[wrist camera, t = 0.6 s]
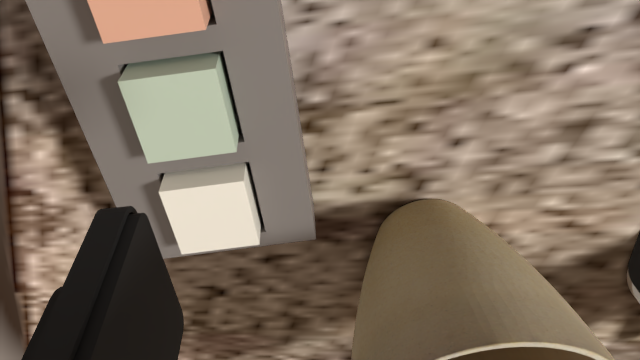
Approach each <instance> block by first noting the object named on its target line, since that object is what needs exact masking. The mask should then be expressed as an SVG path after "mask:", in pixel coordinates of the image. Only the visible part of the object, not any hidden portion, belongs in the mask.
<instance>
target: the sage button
mask: <svg viewBox="0 0 640 360" xmlns="http://www.w3.org/2000/svg"><path fill="white" fill-rule="evenodd" d="M118 84H119V87H120V90H121V93H122V95H123V98H124V101H125V103H126V106H127V109H128V111H129V114H130V117H131V119H132V122H133V125H134V127H135V130H136V133H137V136H138V138H139V141H140V144H141V146H142V149H143V152H144V154H145V157H146V160H147V162H148V164H149V163H157V162H165V161H172V160H180V159H188V158H195V157H203V156H211V155H218V154H226V153H234V152H237V145H238V138H239V130H240V129H239V125H238V121H237V117H236V112H235V108H234V104H233V100H232V96H231V92H230V87H229V83H228V79H227V75H226V71H225V66H224V62H223V58H222V54H221V51H217V52H210V53H203V54H195V55H188V56H180V57H173V58H166V59H158V60H151V61H144V62H136V63H129V64H128V65H127V67H126V68H125V70H124V72H123V73H122V75H121V77H120V78H119V80H118Z"/></svg>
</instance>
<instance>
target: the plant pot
mask: <svg viewBox="0 0 640 360" xmlns="http://www.w3.org/2000/svg"><path fill="white" fill-rule="evenodd" d="M351 360H615V359H614V358H613V357H612V355H611V354H610V353H609V352H608V350H607V349H606V348H605V347H604V345H603V344H602V343H601V342H600V341H599V339H598V338H597V337H596V336H595V335H594V333H593V332H592V331H591V330H590V329H589V327H588V326H587V325H586V324H585V323H584V321H583V320H582V319H581V318H580V317H579V315H578V314H577V313H576V312H575V311H574V310H573V309H572V307H571V306H570V305H569V304H568V303H567V302H566V301H565V300H564V298H563V297H562V296H561V295H560V294H559V293H558V292H557V291H556V290H555V289H554V287H553V286H552V285H551V284H550V283H549V282H548V281H547V280H546V279H545V278H544V277H543V276H542V275H541V274H540V273H539V272H538V271H537V270H536V269H535V268H534V267H533V266H532V265H531V264H530V263H529V262H528V261H526V260H525V259H524V258H523V257H522V256H521V255H520V254H519V253H518V252H517V251H516V250H515V249H514V248H512V247H511V246H510V245H509V244H508V243H507V242H505V241H504V240H503V239H502V238H501V237H500V236H498V235H497V234H496V233H495V232H493V231H492V230H491V229H490V228H488V227H487V226H486V225H484V224H483V223H482V222H480V221H479V220H478V219H476V218H475V217H474V216H472V215H471V214H469V213H468V212H466V211H465V210H463V209H462V208H460V207H459V206H457V205H456V204H454V203H451V202H448V201H445V200H440V199H426V200H419V201H414V202H411V203H409V204H406V205H404V206H402V207H400V208H398V209H397V210H395V211H394V212H393V213H391V214H390V215H389V216H388V217H387V218H386V219H385V220H384V222H383V223H382V225H381V226H380V228H379V231H378V233H377V236H376V239H375V242H374V245H373V248H372V251H371V254H370V257H369V261H368V264H367V268H366V271H365V276H364V280H363V284H362V289H361V294H360V299H359V304H358V310H357V316H356V322H355V330H354V337H353V346H352V355H351Z"/></svg>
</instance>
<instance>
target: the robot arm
mask: <svg viewBox="0 0 640 360" xmlns="http://www.w3.org/2000/svg"><path fill="white" fill-rule="evenodd" d="M627 283H628V287H629V289H630V291H631V293H632V294H633V296H634V297H635V298H636V299H637V301H638V302H639V303H640V232H639V235H638V238H637V241H636V244H635V246H634V249H633V252H632V255H631V258H630V261H629V264H628V271H627ZM183 326H184V321H183V313H182V309H181V307H180V304H179V301H178V298H177V296H176V293H175V290H174V287H173V285H172V282H171V279H170V276H169V274H168V271H167V268H166V265H165V263H164V260H163V257H162V254H161V252H160V249H159V246H158V243H157V241H156V238H155V235H154V232H153V230H152V227H151V224H150V221H149V219H148V217H147V215H146V214H145V213H137V211H136V209H135V208H134V207H132V206H125V207H116V208H106V209H100V210H98V211H97V213H96V214H95V217H94V219H93V221H92V223H91V225H90V228H89V230H88V232H87V234H86V236H85V239H84V241H83V243H82V245H81V247H80V250H79V252H78V254H77V256H76V258H75V261H74V263H73V265H72V267H71V269H70V272H69V274H68V276H67V278H66V280H65V283H64V285H63V287H60V288H58V289H57V290H56V291H55V292H54V293H53V295H52V296H51V298H50V300H49V302H48V304H47V306H46V308H45V311H44V313H43V315H42V317H41V319H40V321H39V323H38V326H37V328H36V330H35V332H34V334H33V336H32V338H31V340H30V343H29V345H28V347H27V349H26V351H25V353H24V355H23V358H22V360H178V355H179V350H180V344H181V339H182V334H183Z"/></svg>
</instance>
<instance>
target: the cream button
mask: <svg viewBox="0 0 640 360" xmlns="http://www.w3.org/2000/svg"><path fill="white" fill-rule="evenodd" d="M159 195H160V197H161V200H162V203H163V205H164V208H165V211H166V213H167V216H168V219H169V222H170V224H171V227H172V230H173V232H174V235H175V238H176V240H177V243H178V246H179V248H180V251H181V254H190V253H198V252H206V251H214V250H221V249H229V248H237V247H245V246H253V245H260V230H261V217H260V213H259V209H258V204H257V200H256V196H255V192H254V188H253V184H252V179H251V175H250V171H249V167H248V163H247V162H244V163H236V164H229V165H221V166H213V167H206V168H198V169H190V170H183V171H175V172H167V173H165V174H164V177H163V180H162V183H161V186H160V189H159Z"/></svg>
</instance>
